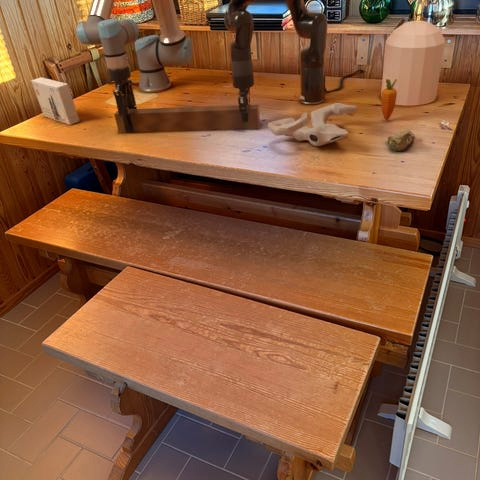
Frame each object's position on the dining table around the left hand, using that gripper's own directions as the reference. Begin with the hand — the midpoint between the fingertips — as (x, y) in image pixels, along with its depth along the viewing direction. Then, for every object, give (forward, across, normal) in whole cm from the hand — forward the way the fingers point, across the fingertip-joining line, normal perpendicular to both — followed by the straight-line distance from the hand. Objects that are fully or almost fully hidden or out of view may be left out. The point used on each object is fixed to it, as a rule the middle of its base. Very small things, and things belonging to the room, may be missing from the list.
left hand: (132, 129), depth 179 cm
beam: (+1, 0, -22) cm, 22 cm away
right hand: (-2, 0, -45) cm, 45 cm away
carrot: (+1, +2, -95) cm, 95 cm away
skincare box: (+1, +15, +37) cm, 40 cm away
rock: (+1, -20, -98) cm, 100 cm away
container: (+1, +27, -107) cm, 110 cm away
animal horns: (+1, -16, -72) cm, 74 cm away
